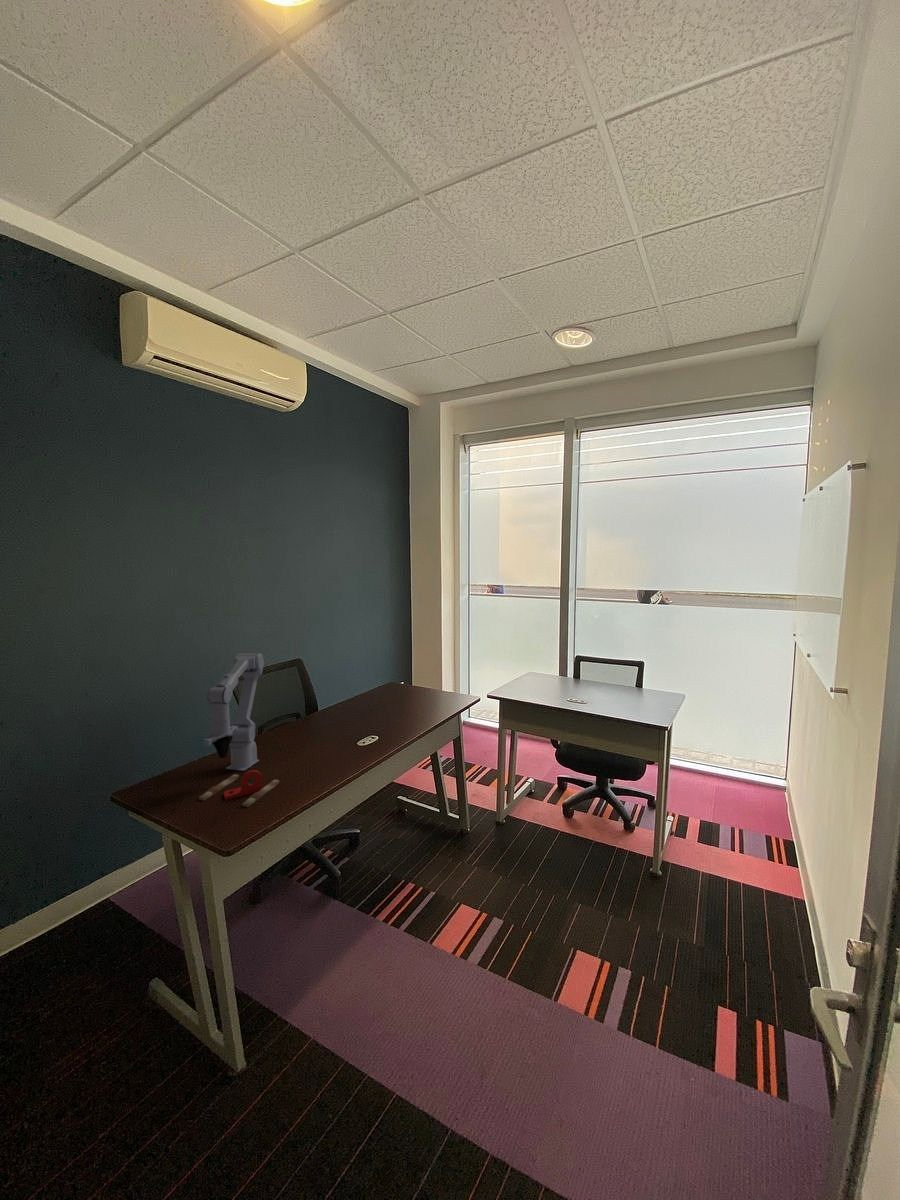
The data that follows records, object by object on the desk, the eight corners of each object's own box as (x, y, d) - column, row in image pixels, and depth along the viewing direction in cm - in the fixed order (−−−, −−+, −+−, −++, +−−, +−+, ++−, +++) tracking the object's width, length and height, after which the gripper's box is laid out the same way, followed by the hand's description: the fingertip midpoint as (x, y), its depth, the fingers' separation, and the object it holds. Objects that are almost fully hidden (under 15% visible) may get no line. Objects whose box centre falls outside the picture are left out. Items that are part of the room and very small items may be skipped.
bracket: (261, 785, 172) (259, 764, 171) (263, 791, 168) (261, 769, 167) (223, 794, 166) (222, 772, 165) (225, 800, 162) (223, 777, 161)
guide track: (233, 776, 179) (233, 773, 179) (279, 782, 174) (279, 779, 174) (198, 799, 163) (198, 796, 162) (248, 807, 157) (248, 803, 157)
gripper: (215, 728, 164) (217, 767, 166) (244, 714, 178) (246, 750, 180) (198, 726, 166) (200, 764, 168) (227, 713, 180) (229, 748, 181)
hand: (222, 757), depth 174 cm, fingers closed
